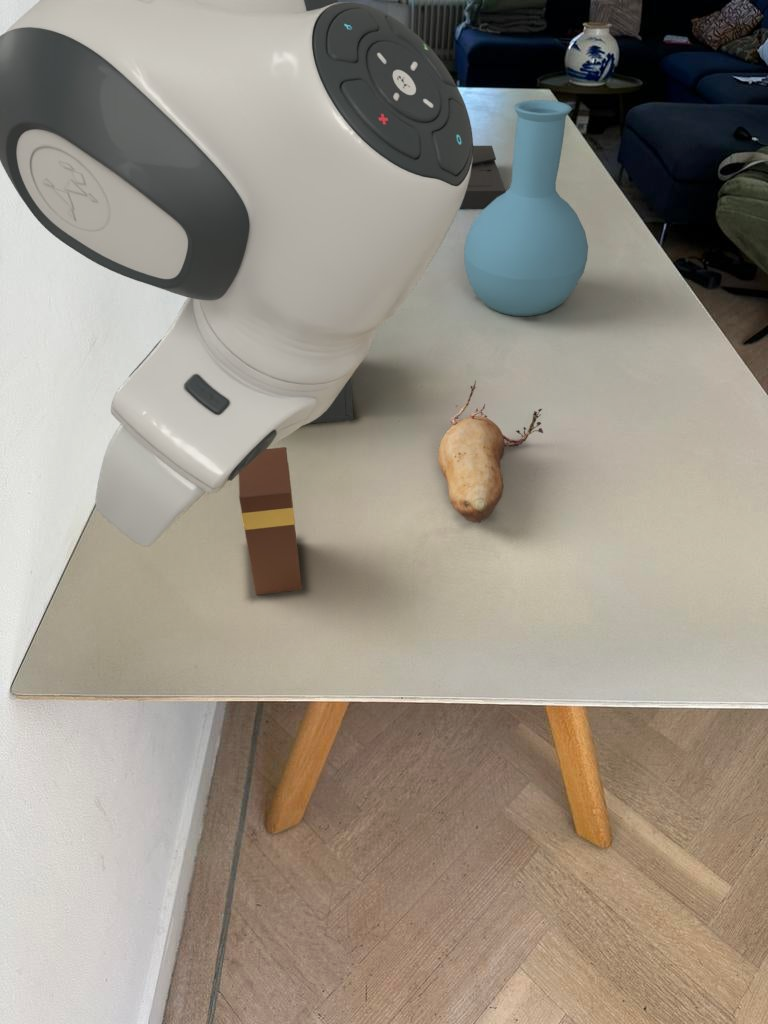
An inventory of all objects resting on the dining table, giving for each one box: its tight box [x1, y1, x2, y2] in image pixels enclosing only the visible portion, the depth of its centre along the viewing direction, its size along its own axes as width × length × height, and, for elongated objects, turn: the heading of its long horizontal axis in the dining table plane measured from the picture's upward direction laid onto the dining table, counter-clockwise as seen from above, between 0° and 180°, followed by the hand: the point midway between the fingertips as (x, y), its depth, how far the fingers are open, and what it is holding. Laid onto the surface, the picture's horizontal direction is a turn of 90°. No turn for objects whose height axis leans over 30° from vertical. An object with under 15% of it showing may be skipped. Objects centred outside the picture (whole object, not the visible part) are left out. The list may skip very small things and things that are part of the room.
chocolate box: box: [237, 446, 303, 596], centre depth 64 cm, size 4×6×11 cm
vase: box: [463, 99, 589, 317], centre depth 100 cm, size 16×17×25 cm
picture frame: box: [460, 145, 507, 209], centre depth 143 cm, size 23×4×28 cm
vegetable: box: [437, 380, 544, 523], centre depth 74 cm, size 16×11×10 cm
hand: (211, 458), depth 51 cm, fingers open, 8 cm apart
